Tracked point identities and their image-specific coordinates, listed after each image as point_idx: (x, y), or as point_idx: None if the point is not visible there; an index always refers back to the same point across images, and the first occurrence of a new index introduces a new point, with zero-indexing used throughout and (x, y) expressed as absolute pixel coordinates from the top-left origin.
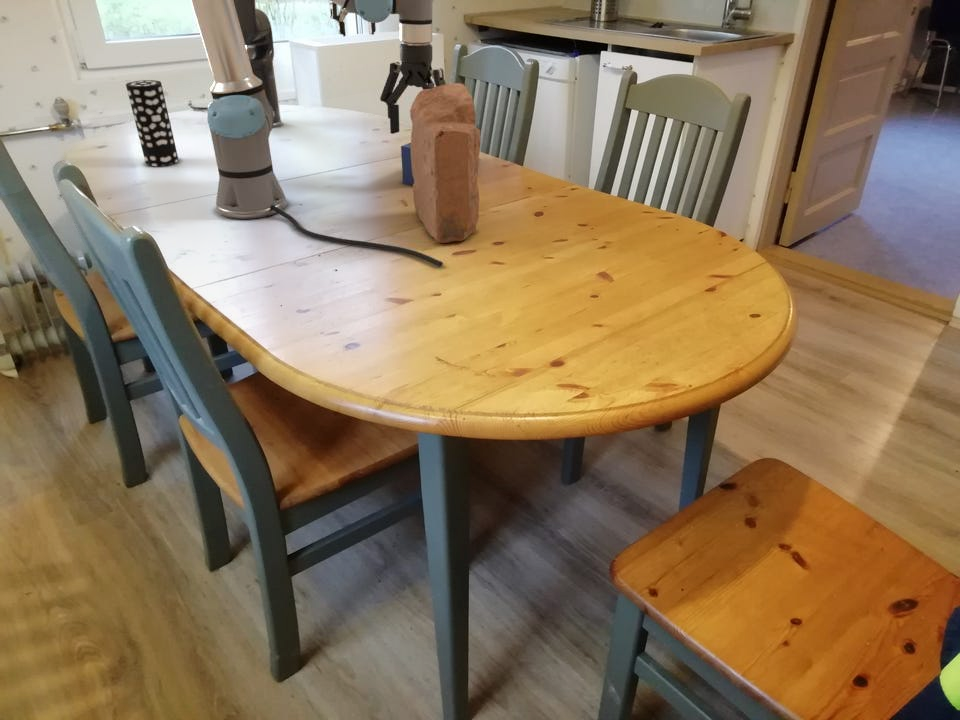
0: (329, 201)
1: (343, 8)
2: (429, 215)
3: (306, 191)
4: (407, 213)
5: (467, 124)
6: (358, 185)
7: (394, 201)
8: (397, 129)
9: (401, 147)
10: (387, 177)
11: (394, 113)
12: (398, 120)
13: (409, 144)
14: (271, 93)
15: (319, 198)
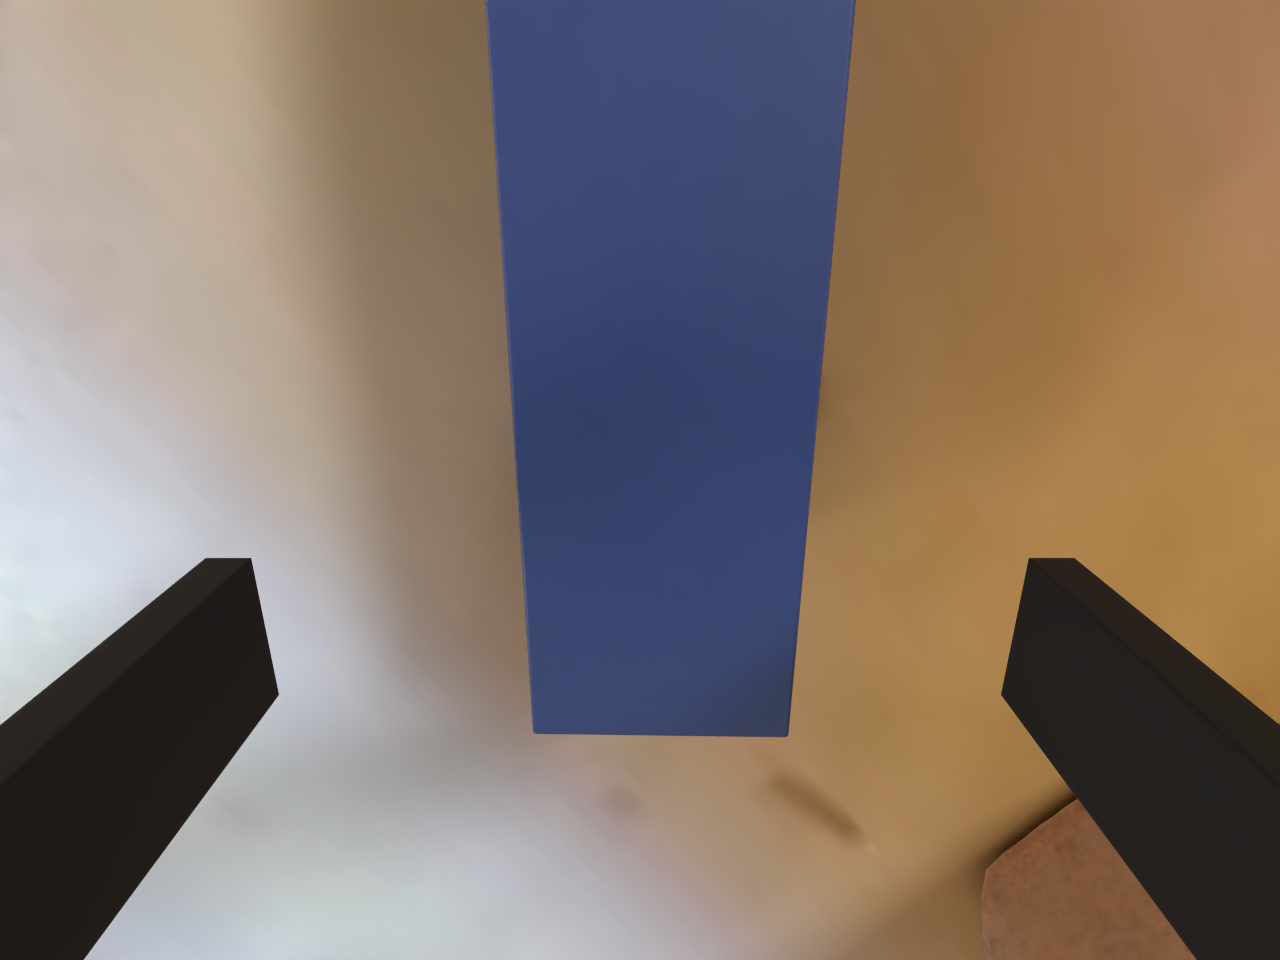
0: (435, 955)
1: None
2: None
3: (207, 912)
4: (917, 903)
5: None
6: (355, 714)
7: (745, 812)
8: (238, 621)
9: (544, 727)
10: (383, 489)
11: (72, 887)
12: (147, 669)
13: (570, 640)
14: None
15: (356, 949)
